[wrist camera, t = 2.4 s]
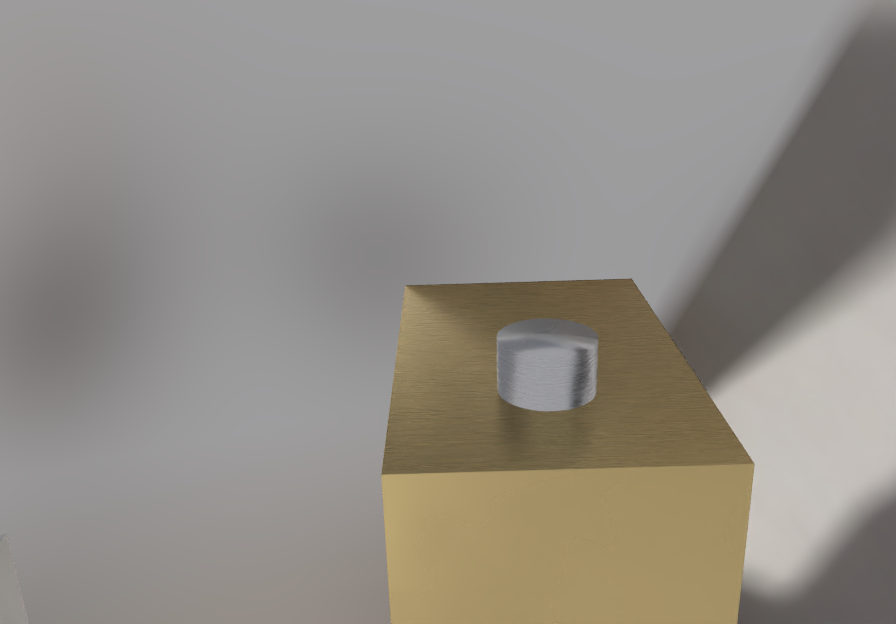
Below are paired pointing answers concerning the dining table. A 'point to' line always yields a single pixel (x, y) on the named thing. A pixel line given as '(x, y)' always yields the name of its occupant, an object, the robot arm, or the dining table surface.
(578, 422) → the block
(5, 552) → the robot arm
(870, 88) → the dining table surface
